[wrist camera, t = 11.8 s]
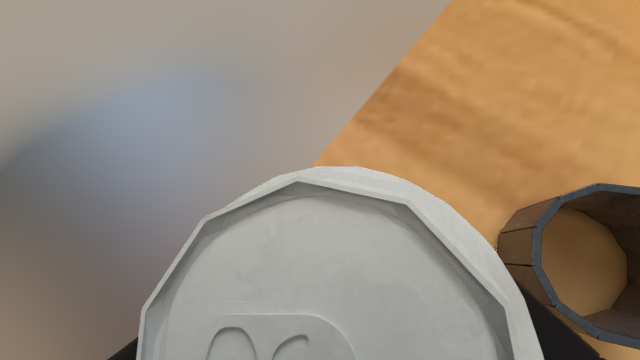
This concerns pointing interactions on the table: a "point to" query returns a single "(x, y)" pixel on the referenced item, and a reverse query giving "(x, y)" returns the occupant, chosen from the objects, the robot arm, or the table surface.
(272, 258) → the beer can
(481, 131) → the table surface
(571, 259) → the table surface
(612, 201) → the can holder
